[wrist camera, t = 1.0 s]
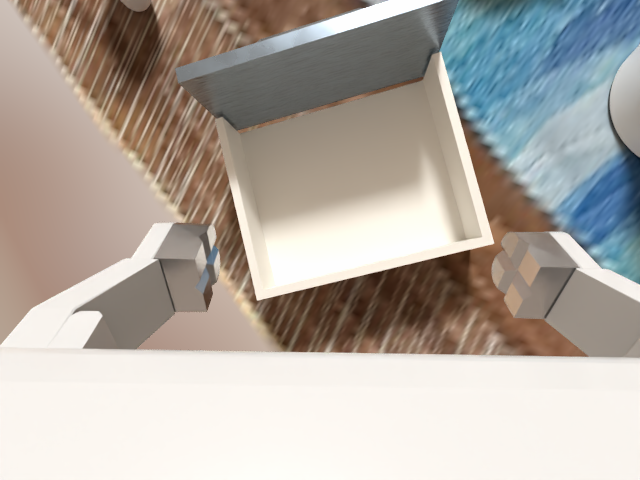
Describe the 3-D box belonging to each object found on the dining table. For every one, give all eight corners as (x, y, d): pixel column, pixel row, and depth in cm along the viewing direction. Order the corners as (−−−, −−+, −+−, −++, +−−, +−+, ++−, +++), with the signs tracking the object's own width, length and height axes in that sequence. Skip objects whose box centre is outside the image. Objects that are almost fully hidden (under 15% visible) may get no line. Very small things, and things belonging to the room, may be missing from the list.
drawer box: (470, 245, 39) (494, 243, 32) (274, 292, 41) (257, 300, 34) (426, 86, 40) (440, 51, 33) (239, 141, 42) (214, 119, 35)
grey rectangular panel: (430, 74, 38) (460, -6, 26) (231, 132, 40) (178, 82, 28) (424, 54, 38) (452, -34, 26) (226, 113, 40) (172, 56, 28)
